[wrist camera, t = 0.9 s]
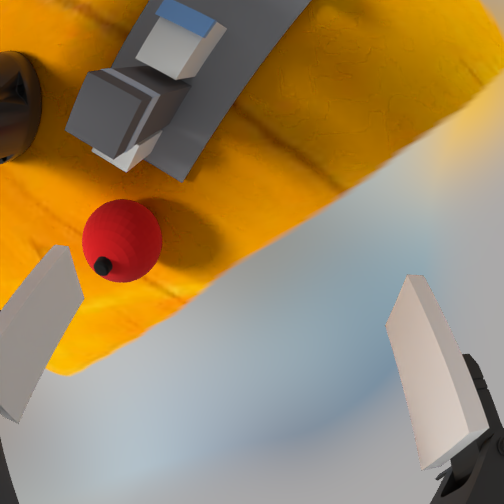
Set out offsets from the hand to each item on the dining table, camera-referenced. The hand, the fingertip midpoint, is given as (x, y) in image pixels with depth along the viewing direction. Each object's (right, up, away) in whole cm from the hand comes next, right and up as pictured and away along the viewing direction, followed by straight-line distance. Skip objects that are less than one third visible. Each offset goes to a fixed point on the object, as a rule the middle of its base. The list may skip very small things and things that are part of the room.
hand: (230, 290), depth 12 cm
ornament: (-13, +5, +25) cm, 29 cm away
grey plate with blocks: (-5, +21, +14) cm, 26 cm away
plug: (-8, +17, +16) cm, 24 cm away
